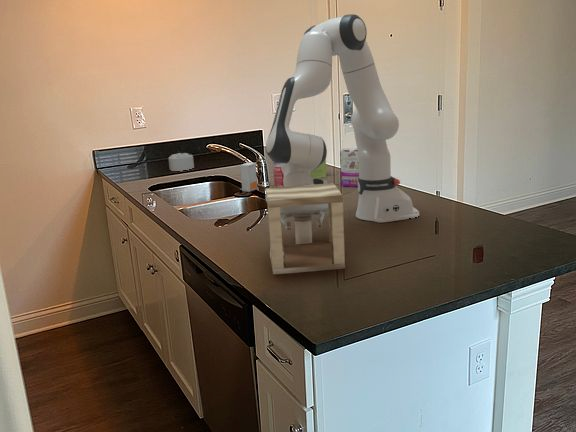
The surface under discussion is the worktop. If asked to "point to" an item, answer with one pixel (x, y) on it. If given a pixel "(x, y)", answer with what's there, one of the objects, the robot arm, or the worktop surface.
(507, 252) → the worktop surface
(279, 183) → the soda can
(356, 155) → the candy bar box
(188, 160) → the lumpy-topped squat cylinder
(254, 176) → the skincare box
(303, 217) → the jar
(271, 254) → the shelf
